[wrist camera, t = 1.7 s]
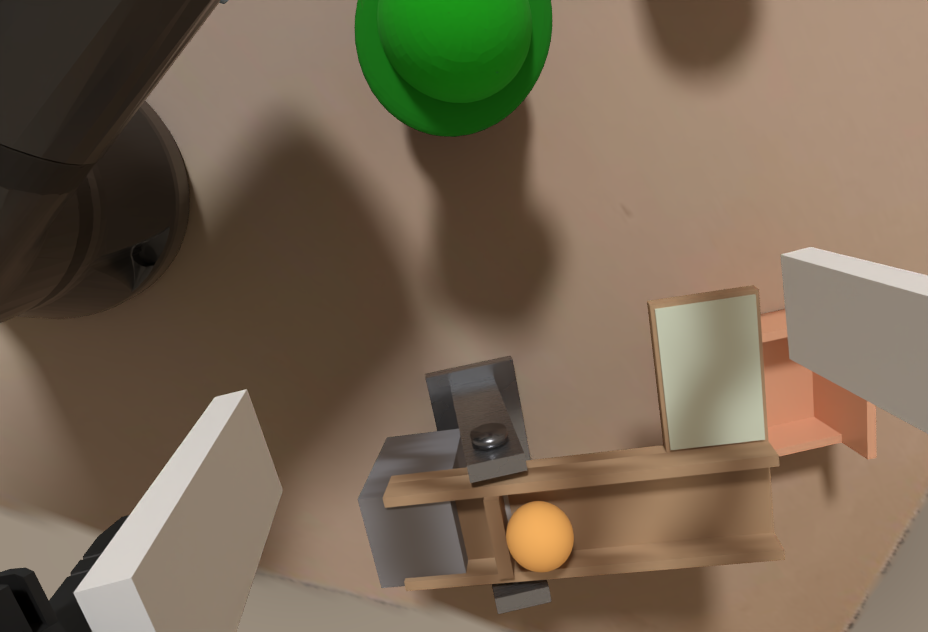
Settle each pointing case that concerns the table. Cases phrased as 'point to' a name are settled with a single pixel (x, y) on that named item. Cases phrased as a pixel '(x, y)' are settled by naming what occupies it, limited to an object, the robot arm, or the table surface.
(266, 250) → the table surface
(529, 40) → the toy
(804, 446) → the pink open box
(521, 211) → the table surface
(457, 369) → the bracket
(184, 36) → the robot arm
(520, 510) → the ball
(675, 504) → the lever
